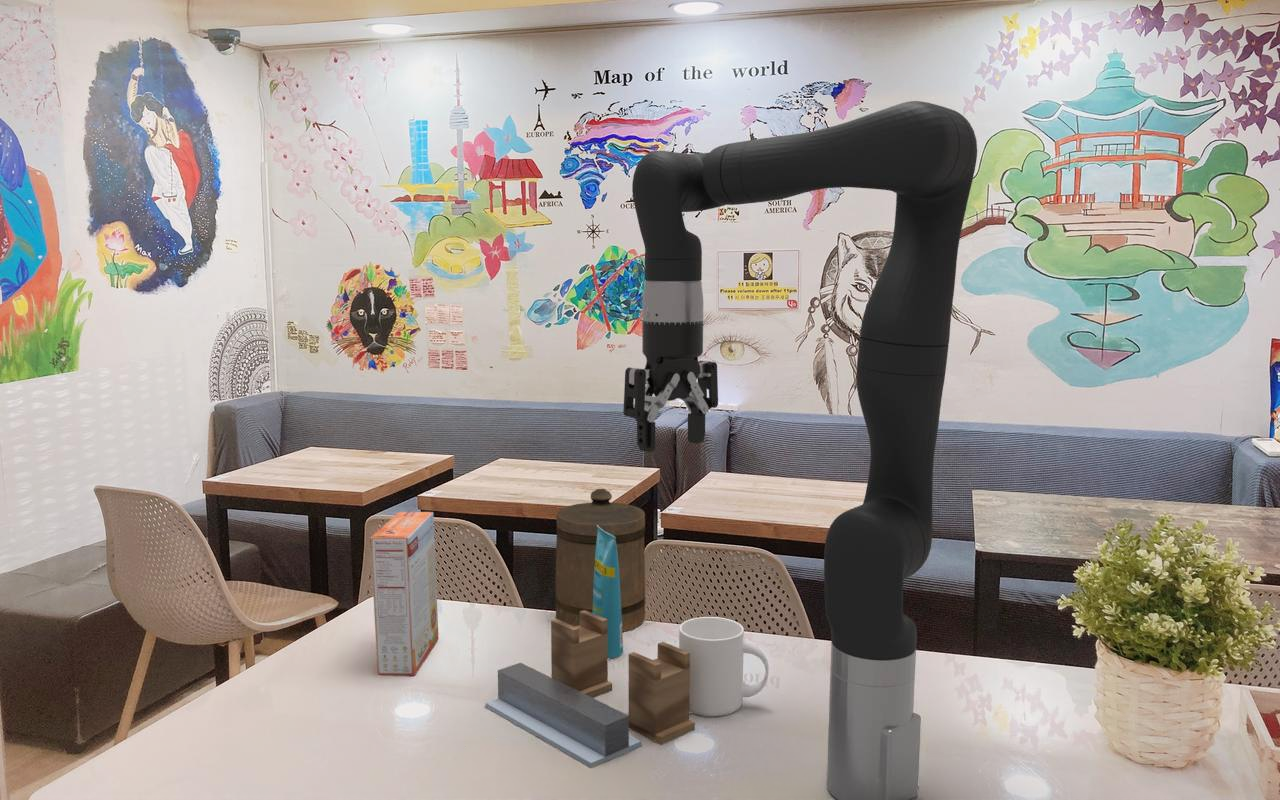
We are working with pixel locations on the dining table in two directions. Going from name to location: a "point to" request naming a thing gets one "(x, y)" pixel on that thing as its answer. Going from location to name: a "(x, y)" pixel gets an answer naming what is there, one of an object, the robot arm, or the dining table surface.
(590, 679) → the post
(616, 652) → the tube
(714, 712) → the mug
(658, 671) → the post
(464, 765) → the dining table surface
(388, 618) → the cracker box
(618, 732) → the rail
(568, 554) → the wooden container
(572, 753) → the mat
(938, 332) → the robot arm
